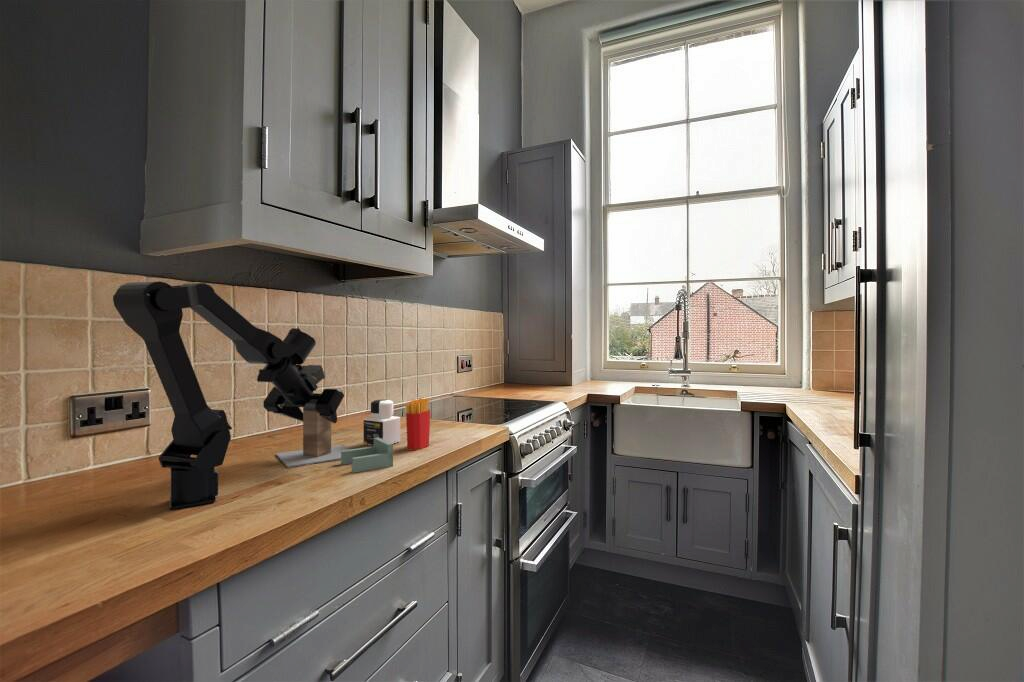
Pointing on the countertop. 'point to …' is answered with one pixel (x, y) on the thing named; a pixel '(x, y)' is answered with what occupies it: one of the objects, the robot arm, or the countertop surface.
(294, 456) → the mat
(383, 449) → the holder
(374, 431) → the medicine bottle
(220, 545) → the countertop surface
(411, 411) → the french fries
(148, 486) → the countertop surface
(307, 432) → the brown rectangular block
